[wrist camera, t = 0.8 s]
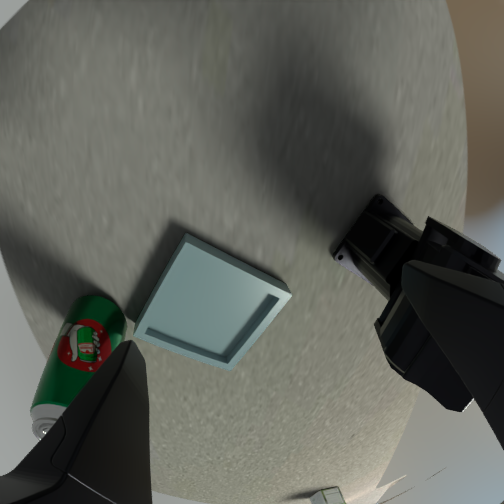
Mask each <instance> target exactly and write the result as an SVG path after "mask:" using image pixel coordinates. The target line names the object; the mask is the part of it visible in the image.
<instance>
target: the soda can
mask: <svg viewBox="0 0 504 504" xmlns="http://www.w3.org/2000/svg"><path fill="white" fill-rule="evenodd" d="M126 330H127V322H126V318H125V316H124V314H123V313H122V311H121V310H120V309H119V307H118V306H116V305H115V304H114V303H113V302H111V301H110V300H108V299H106V298H103V297H100V296H94V295H87V296H83V297H80V298H78V299H77V300H75V301H74V302H73V304H72V305H71V307H70V309H69V311H68V313H67V316H66V318H65V320H64V322H63V324H62V327H61V329H60V331H59V334H58V336H57V338H56V341H55V343H54V345H53V348H52V350H51V353H50V355H49V358H48V360H47V363H46V366H45V368H44V371H43V374H42V376H41V379H40V382H39V385H38V388H37V390H36V393H35V397H34V400H33V403H32V406H31V410H30V412H31V417H32V420H33V424H32V430H33V433H34V434H35V436H36V437H37V438H38V439H39V440H41V439H42V438H43V437H44V435H45V434H46V433H47V432H48V431H49V429H50V428H51V427H52V426H53V424H54V423H55V422H56V421H57V419H58V418H59V417H60V416H62V413H63V412H64V411H65V409H66V408H67V407H68V405H69V404H70V403H71V402H72V400H73V399H74V398H75V397H76V395H77V394H78V393H79V392H80V391H81V389H82V388H83V387H84V386H85V384H86V383H87V382H88V381H89V379H90V378H91V377H92V376H93V375H94V373H95V372H96V371H97V370H98V368H99V367H100V366H101V365H102V364H103V362H104V361H105V360H106V359H107V358H108V356H109V355H110V354H111V353H112V352H113V350H114V349H115V348H116V347H117V346H118V345H119V343H120V342H123V341H124V340H125V335H126Z"/></svg>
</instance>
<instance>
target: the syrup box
mask: <svg viewBox="0 0 504 504" xmlns="http://www.w3.org/2000/svg"><path fill="white" fill-rule="evenodd" d="M310 501H311V503H312V504H346V503H345V500H344V498H343V496H342V494H341V491H340V489H339V487H334V488H329V489H324V490H320V491H318V492H317V493H315V494H314V495H313V496H311V497H310Z"/></svg>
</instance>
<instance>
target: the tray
mask: <svg viewBox="0 0 504 504" xmlns="http://www.w3.org/2000/svg"><path fill="white" fill-rule="evenodd" d="M291 296H292V293H291V292H290V290H289V288H288V286H287V285H286V284H285V283H283V282H281V281H279V280H277V279H275V278H273V277H271V276H269V275H267V274H265V273H263V272H261V271H259V270H257V269H255V268H253V267H251V266H249V265H248V264H246V263H244V262H242V261H240V260H238V259H236V258H234V257H232V256H230V255H228V254H226V253H224V252H222V251H220V250H218V249H216V248H214V247H213V246H211V245H209V244H207V243H205V242H203V241H201V240H199V239H197V238H195V237H193V236H191V235H189V234H187V233H185V235H184V237H183V238H182V240H181V242H180V243H179V245H178V247H177V249H176V250H175V252H174V254H173V255H172V257H171V259H170V261H169V262H168V264H167V266H166V268H165V269H164V271H163V273H162V275H161V277H160V278H159V280H158V282H157V284H156V286H155V287H154V289H153V291H152V293H151V295H150V297H149V298H148V300H147V302H146V304H145V306H144V308H143V310H142V312H141V313H140V315H139V317H138V319H137V321H136V323H135V328H134V334H133V336H134V337H137V338H139V339H141V340H144V341H146V342H149V343H151V344H154V345H157V346H159V347H162V348H164V349H167V350H170V351H172V352H175V353H178V354H181V355H183V356H186V357H189V358H192V359H195V360H198V361H201V362H203V363H206V364H209V365H213V366H216V367H219V368H222V369H225V370H228V371H231V370H232V369H233V367H234V366H235V365H236V364H237V363H238V362H239V360H240V359H241V358H242V357H243V356H244V354H245V353H246V352H247V351H248V350H249V348H250V347H251V346H252V345H253V344H254V342H255V341H256V340H257V339H258V338H259V336H260V335H261V334H262V333H263V331H264V330H265V329H266V328H267V326H268V325H269V324H270V323H271V321H272V320H273V319H274V318H275V316H276V315H277V314H278V313H279V311H280V310H281V309H282V308H283V306H284V305H285V304H286V303H287V301H288V300H289V299H290V297H291Z"/></svg>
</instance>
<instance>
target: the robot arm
mask: <svg viewBox="0 0 504 504" xmlns="http://www.w3.org/2000/svg"><path fill="white" fill-rule="evenodd" d="M379 199H380V202H379V203H378V200H379ZM425 224H426V226H425V228H424V231H421V230H420V229H418V228H416V227H415V226H414V225H413V224H412V223H411V222H410V221H409V220H408V219H407V218H406V217H405V216H404V215H403V214H402V213H401V212H400V211H399V210H398V209H397V208H396V207H394V206H393V205H392V204H391V203H390V202H389V201H388V200H387V199H386V198H385V197H384V196H382V195H380V194H377V195H375V196H374V197H373V199H372V200H371V202H370V203H369V205H368V206H367V208H366V209H365V210H364V212H363V213H362V214H361V216H360V217H359V219H358V220H357V221H356V223H355V224H354V226H353V227H352V228H351V230H350V231H349V233H348V234H347V235H346V237H345V239H344V240H343V241H342V243H341V244H340V245H339V247H338V248H337V249H336V251H335V252H334V254H333V259H334V260H335V261H336V262H337V263H339V264H340V265H342V266H343V267H345V268H347V269H348V270H350V271H351V272H353V273H354V274H356V275H358V276H359V277H361V278H362V279H364V280H365V281H367V282H368V283H370V284H371V285H373V286H374V287H375V288H376V289H377V290H378V291H379V292H380V293H381V294H382V295H383V296H384V297H385V298H386V299H387V300H388V303H387V305H386V307H385V309H384V310H383V312H382V314H381V316H380V317H379V318H377V320H376V322H375V323H374V326H375V329H376V332H377V334H378V337H379V340H380V342H381V345H382V348H383V351H384V354H385V356H386V359H387V361H388V363H389V364H390V367H391V368H392V369H393V370H395V371H396V372H397V373H398V374H399V375H401V376H402V377H403V378H404V379H405V380H407V381H409V382H411V383H413V384H416V385H417V386H419V387H420V388H422V389H424V390H425V391H427V392H428V393H429V394H430V395H432V396H433V397H434V398H435V399H436V400H437V401H438V402H439V403H440V404H441V405H443V406H444V407H445V408H446V409H448V410H453V411H457V412H463V411H464V410H465V409H466V408H467V406H469V405H470V403H471V402H472V401H473V400H475V401H476V403H477V404H478V406H479V407H480V409H481V411H482V412H483V414H484V416H485V418H486V419H487V421H488V423H489V425H490V426H491V428H492V430H493V431H494V433H495V435H496V437H497V439H498V441H499V442H500V444H501V446H502V448H503V450H504V274H503V273H502V272H500V271H499V270H497V268H498V266H499V264H500V262H501V259H500V258H498V257H497V256H496V255H494V254H493V253H492V252H490V251H489V250H488V249H486V248H485V247H484V246H482V245H481V244H479V243H477V242H476V241H474V240H472V239H471V238H469V237H467V236H465V235H464V234H462V233H460V232H458V231H457V230H455V229H453V228H451V227H449V226H447V225H445V224H443V223H441V222H439V221H437V220H435V219H433V218H431V217H429V216H428V218H427V220H426V223H425ZM339 255H341V257H339V258H338V256H339ZM0 504H152V491H151V474H150V444H149V396H148V386H147V375H146V363H145V360H144V357H143V356H142V354H141V352H140V351H139V349H138V347H137V345H136V344H135V342H134V341H132V340H128V341H123V342H120V343H119V345H118V346H117V347H116V348H115V349H114V350H113V352H112V353H111V354H110V355H109V356H108V358H107V359H106V360H105V361H104V362H103V364H102V365H101V366H100V367H99V368H98V370H97V371H96V372H95V373H94V375H93V376H92V377H91V378H90V379H89V381H88V382H87V383H86V384H85V386H84V387H83V388H82V389H81V391H80V392H79V393H78V394H77V395H76V397H75V398H74V399H73V400H72V402H71V403H70V404H69V405H68V407H67V408H66V409H65V411H64V412H63V413H62V416H60V417H59V418H58V419H57V421H56V422H55V423H54V424H53V426H52V427H51V428H50V429H49V431H48V432H47V433H46V434H45V435H44V437H43V438H42V439H41V440H40V441H39V442H38V443H37V445H36V446H35V447H34V448H33V449H32V450H31V451H30V452H29V454H27V456H26V457H25V458H24V459H23V460H22V461H21V462H20V463H19V464H18V466H17V467H16V468H15V469H14V470H12V471H11V472H9V473H8V474H6V475H3V476H0ZM501 504H504V501H503V502H502V503H501Z"/></svg>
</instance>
